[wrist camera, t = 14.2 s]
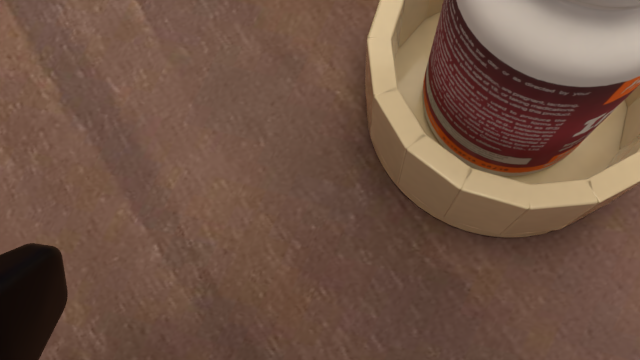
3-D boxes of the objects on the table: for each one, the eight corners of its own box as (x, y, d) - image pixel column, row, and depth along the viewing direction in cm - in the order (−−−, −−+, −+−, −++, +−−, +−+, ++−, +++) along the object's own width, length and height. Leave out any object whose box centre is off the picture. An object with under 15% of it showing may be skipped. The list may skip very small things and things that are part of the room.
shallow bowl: (666, 224, 22) (742, 190, 18) (381, 250, 22) (388, 222, 18) (603, -20, 25) (655, -99, 21) (354, 5, 25) (354, -68, 21)
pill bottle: (564, 203, 22) (764, 49, 11) (399, 150, 23) (439, -37, 12) (603, 55, 23) (808, -201, 13) (447, 11, 24) (519, -260, 14)
